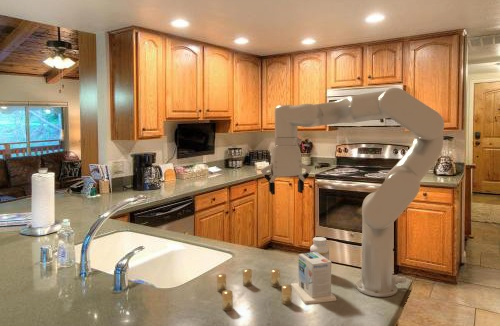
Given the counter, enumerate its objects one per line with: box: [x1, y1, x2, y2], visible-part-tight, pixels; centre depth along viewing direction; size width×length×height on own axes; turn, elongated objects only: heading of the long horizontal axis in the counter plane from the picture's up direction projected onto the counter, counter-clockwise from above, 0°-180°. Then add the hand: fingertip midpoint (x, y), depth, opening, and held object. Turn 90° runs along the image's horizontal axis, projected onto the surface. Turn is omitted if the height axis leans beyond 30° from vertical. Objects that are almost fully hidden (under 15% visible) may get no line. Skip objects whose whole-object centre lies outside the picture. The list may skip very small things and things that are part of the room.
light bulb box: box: [297, 252, 332, 298], centre depth 128 cm, size 11×7×11 cm, turn 18°
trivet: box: [290, 282, 337, 305], centre depth 129 cm, size 10×14×1 cm
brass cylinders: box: [216, 268, 293, 312], centre depth 128 cm, size 21×19×5 cm
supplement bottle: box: [309, 236, 330, 261], centre depth 144 cm, size 7×7×13 cm
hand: (286, 193), depth 136 cm, fingers open, 9 cm apart
